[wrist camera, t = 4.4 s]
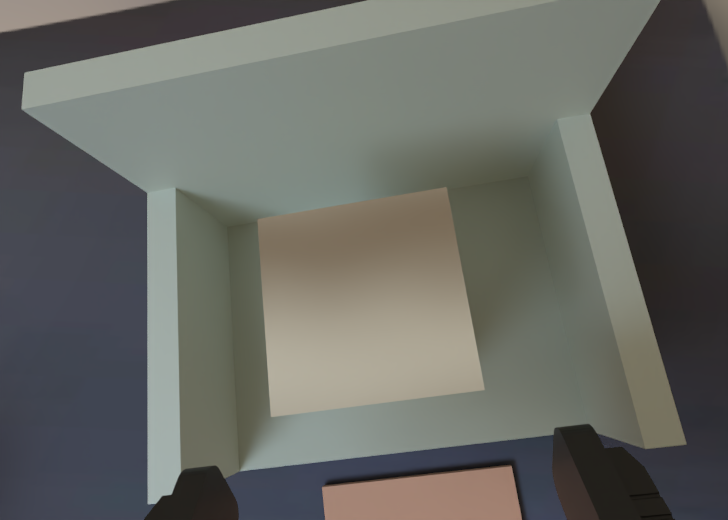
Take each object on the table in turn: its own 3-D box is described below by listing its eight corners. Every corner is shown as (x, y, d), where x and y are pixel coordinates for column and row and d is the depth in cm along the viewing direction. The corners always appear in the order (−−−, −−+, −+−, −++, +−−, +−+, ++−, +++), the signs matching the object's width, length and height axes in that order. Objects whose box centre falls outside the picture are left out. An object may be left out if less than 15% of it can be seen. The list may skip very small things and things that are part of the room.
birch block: (456, 383, 20) (485, 390, 10) (344, 398, 20) (271, 417, 11) (437, 272, 21) (446, 187, 12) (331, 289, 22) (257, 219, 12)
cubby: (593, 420, 22) (871, 492, 8) (240, 462, 23) (-17, 579, 10) (533, 175, 25) (660, -62, 11) (228, 227, 27) (24, 72, 13)
